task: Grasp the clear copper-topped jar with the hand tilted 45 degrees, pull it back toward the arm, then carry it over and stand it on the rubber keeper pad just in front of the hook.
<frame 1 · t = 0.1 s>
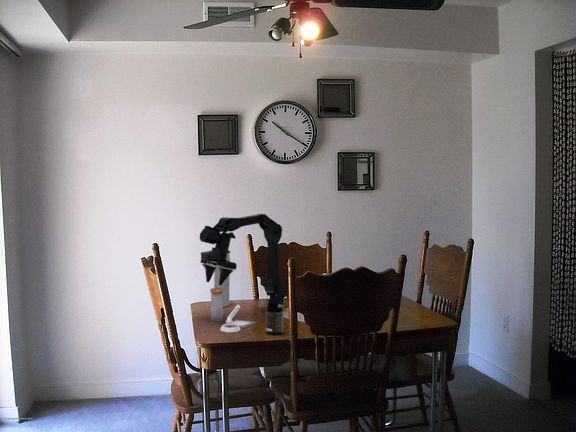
hand: (213, 283, 220), 15 cm above the table, tool pointing down, fingers open, 9 cm apart
pad: (239, 324, 215), on the table
clear copper-topped jar: (216, 320, 221), on the table
supplement container: (274, 333, 202), on the table
hook: (230, 330, 206), on the table
water bottle: (221, 305, 251), on the table
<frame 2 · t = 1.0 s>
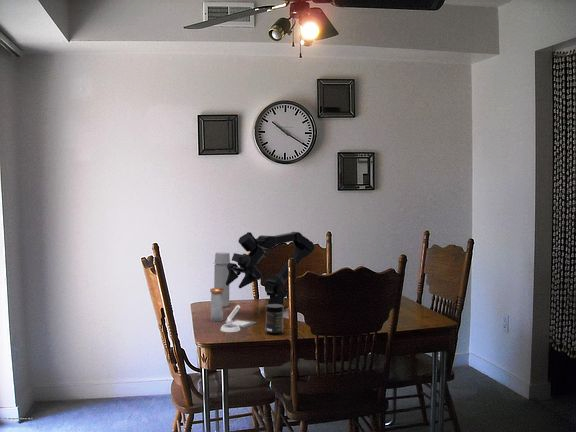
hand: (232, 286, 226), 13 cm above the table, tool tilted 45°, fingers open, 9 cm apart
nothing on the table moved.
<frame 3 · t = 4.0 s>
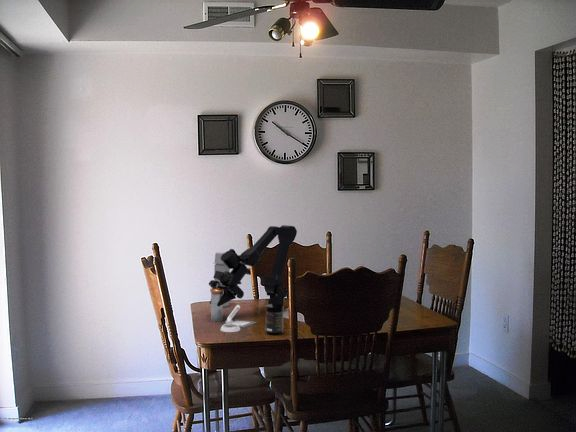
hand: (214, 304, 220), 7 cm above the table, tool tilted 45°, fingers closed on clear copper-topped jar, 5 cm apart
clear copper-topped jar: (216, 320, 221), on the table, touching gripper
everything else where it was.
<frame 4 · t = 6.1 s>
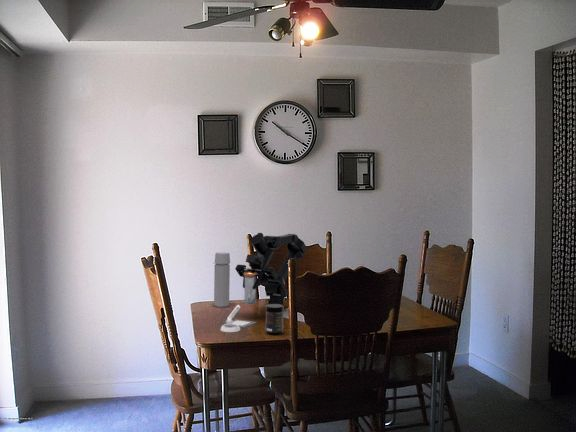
hand: (248, 288, 222), 13 cm above the table, tool tilted 45°, fingers closed on clear copper-topped jar, 5 cm apart
clear copper-topped jar: (250, 303, 224), point 7 cm above the table, touching gripper
everything else where it was.
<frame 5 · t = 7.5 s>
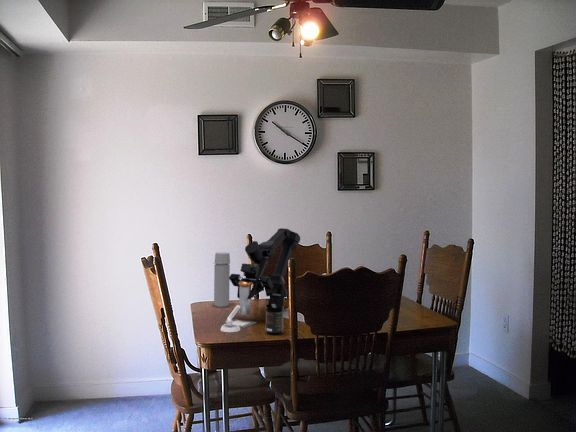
hand: (243, 298, 217), 10 cm above the table, tool tilted 45°, fingers closed on clear copper-topped jar, 5 cm apart
clear copper-topped jar: (244, 313, 218), point 4 cm above the table, touching gripper
everything else where it was.
when the fingers open (8 cm above the table, at t = 8.7 s): clear copper-topped jar stays where it is, resting on pad.
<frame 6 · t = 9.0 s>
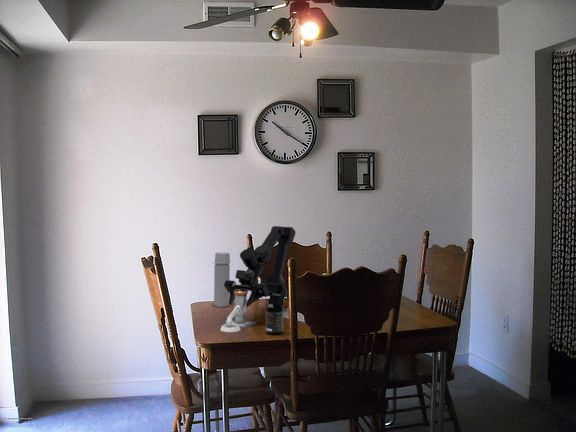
hand: (238, 305, 213), 8 cm above the table, tool tilted 45°, fingers open, 8 cm apart
clear copper-topped jar: (240, 322, 215), point 1 cm above the table, touching pad
everything else where it was.
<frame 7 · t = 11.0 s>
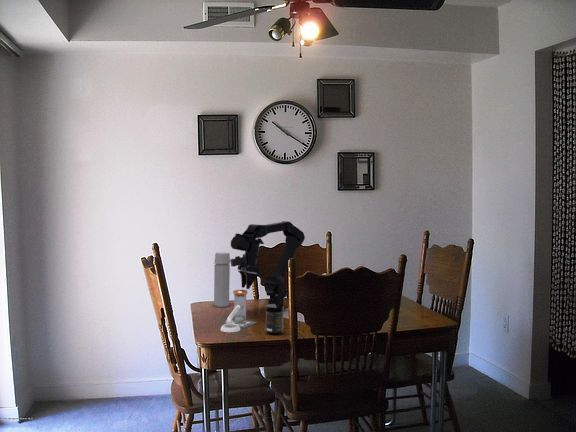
hand: (245, 288, 230), 12 cm above the table, tool pointing down, fingers open, 9 cm apart
nothing on the table moved.
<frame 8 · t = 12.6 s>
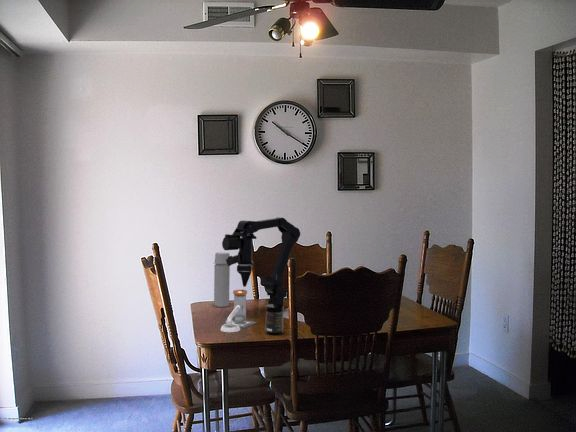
hand: (245, 284, 232), 13 cm above the table, tool pointing down, fingers open, 9 cm apart
nothing on the table moved.
at the end: clear copper-topped jar inside the target area on the pad (0.1 cm from its centre), point 0.5 cm above the pad's base; clear copper-topped jar tilted 1°; the gripper is holding nothing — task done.
